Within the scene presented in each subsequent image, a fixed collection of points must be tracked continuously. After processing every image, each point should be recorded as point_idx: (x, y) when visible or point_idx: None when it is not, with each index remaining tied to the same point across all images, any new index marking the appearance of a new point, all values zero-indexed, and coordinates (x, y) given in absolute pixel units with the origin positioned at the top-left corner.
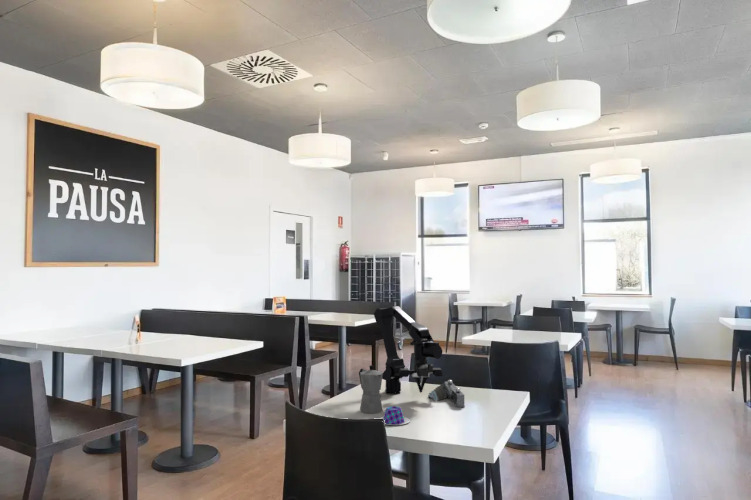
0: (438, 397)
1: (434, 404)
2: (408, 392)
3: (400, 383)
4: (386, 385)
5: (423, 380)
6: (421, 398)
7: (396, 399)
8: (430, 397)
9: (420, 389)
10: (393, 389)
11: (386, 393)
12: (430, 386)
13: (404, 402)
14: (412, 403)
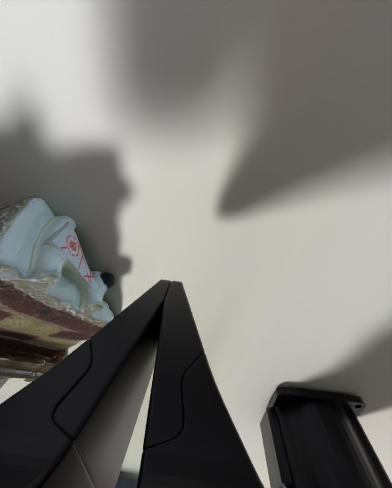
0: (15, 205)
1: (65, 24)
2: None
3: (282, 474)
4: (383, 469)
5: (10, 470)
6: (170, 279)
7: (375, 284)
8: (101, 275)
9: (171, 299)
10: (327, 423)
11: (361, 398)
12: None
13: (367, 176)
14: (305, 118)
